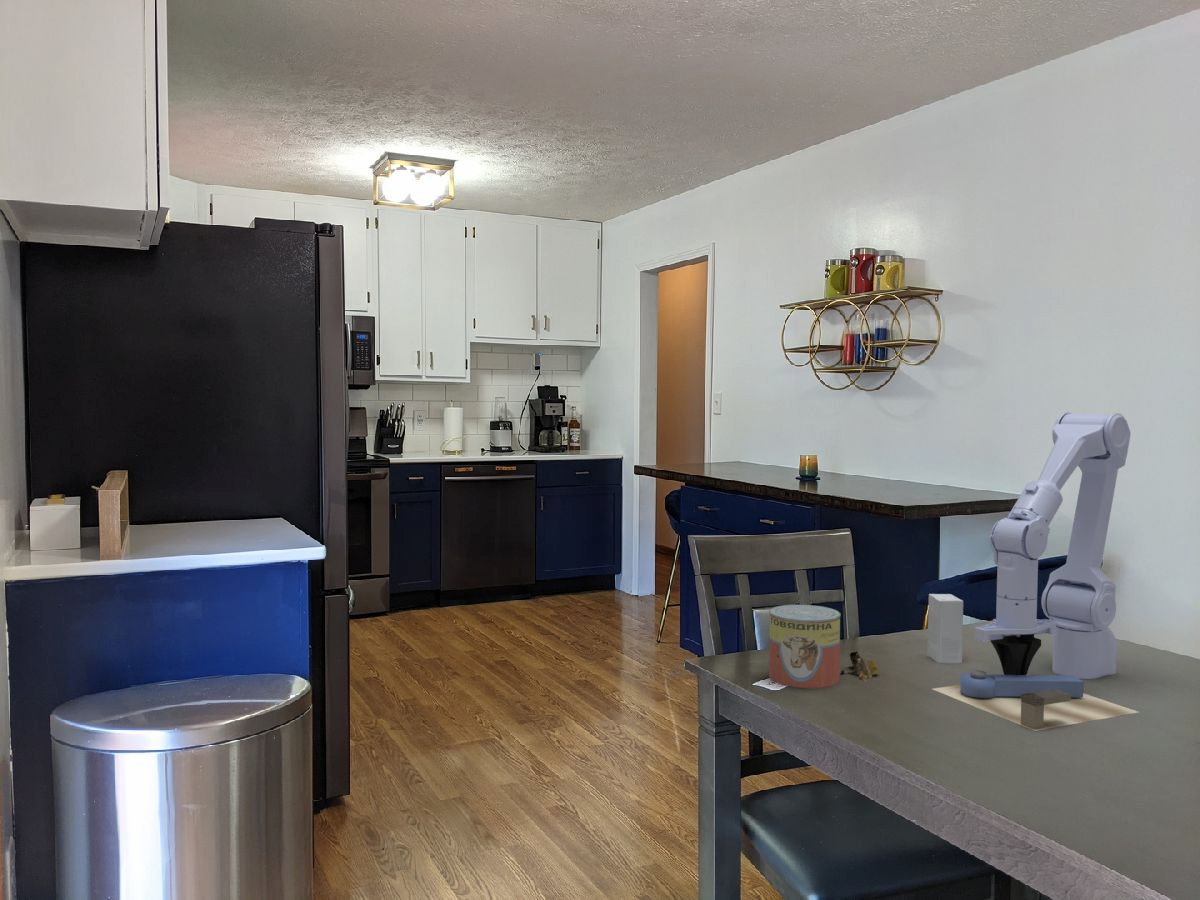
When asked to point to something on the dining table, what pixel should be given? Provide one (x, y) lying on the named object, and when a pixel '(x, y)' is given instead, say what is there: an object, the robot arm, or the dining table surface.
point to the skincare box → (945, 628)
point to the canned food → (804, 646)
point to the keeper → (1039, 706)
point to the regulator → (862, 667)
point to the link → (1016, 684)
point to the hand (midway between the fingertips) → (1014, 682)
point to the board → (1053, 713)
